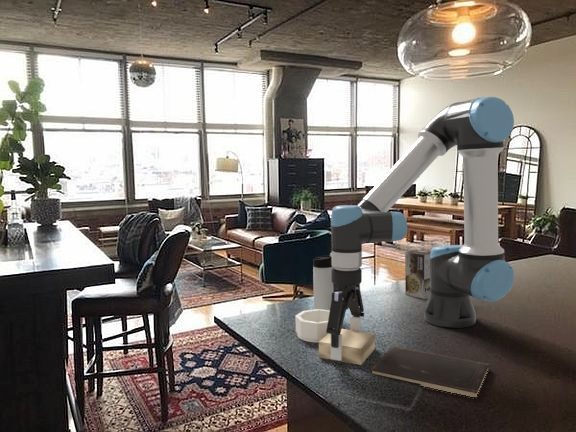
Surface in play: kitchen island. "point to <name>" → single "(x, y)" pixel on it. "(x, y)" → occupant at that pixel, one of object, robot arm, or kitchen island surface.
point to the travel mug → (322, 282)
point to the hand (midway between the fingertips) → (346, 349)
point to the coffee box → (417, 273)
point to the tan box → (350, 346)
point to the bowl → (312, 324)
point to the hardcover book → (433, 370)
